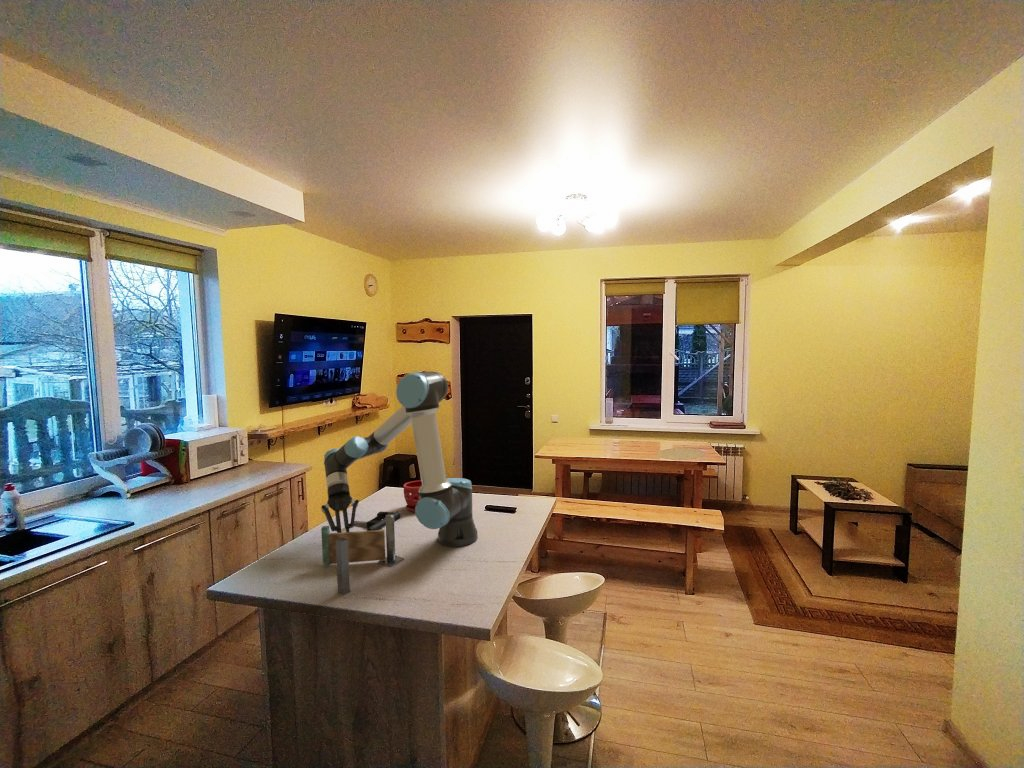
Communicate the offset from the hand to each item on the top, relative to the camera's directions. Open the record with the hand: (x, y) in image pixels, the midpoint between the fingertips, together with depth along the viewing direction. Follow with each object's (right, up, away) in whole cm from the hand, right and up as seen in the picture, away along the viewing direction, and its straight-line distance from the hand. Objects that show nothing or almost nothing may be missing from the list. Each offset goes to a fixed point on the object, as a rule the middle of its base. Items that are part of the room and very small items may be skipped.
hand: (345, 547), depth 148 cm
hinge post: (+16, -5, 0) cm, 16 cm away
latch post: (+7, -6, -19) cm, 21 cm away
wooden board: (+4, -4, -2) cm, 6 cm away
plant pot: (+14, -2, +52) cm, 54 cm away
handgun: (-1, -4, +35) cm, 35 cm away
